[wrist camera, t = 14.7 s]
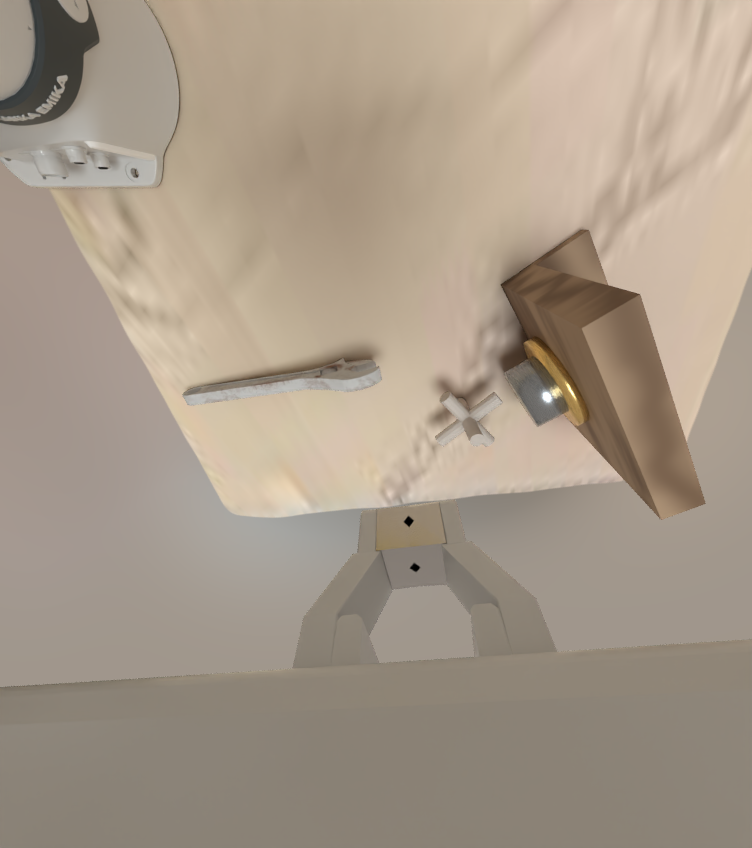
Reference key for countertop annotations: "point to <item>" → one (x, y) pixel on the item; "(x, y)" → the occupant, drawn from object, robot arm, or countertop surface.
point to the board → (610, 370)
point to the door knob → (546, 386)
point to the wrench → (292, 382)
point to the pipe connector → (468, 419)
